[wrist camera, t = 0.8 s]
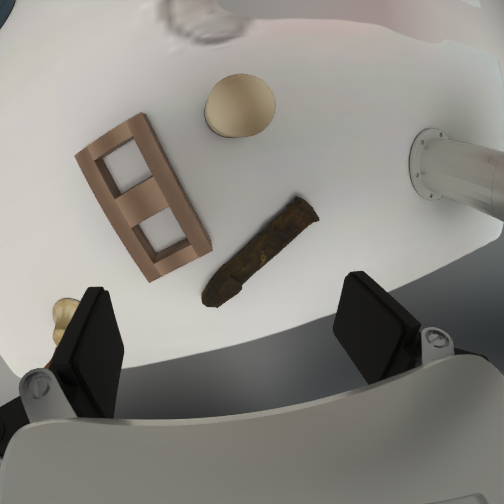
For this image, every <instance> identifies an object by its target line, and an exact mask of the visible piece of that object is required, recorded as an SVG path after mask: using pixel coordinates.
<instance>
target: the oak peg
mask: <svg viewBox="0 0 504 504" xmlns="http://www.w3.org/2000/svg"><path fill="white" fill-rule="evenodd" d="M275 106H276V105H275V98H274V95H273V93H272V91H271V89H270V88H269V86H268V85H267V84H266V83H265V82H263V81H262V80H261V79H259V78H257V77H255V76H252V75H248V74H235V75H231V76H228V77H226V78H224V79H222V80H221V81H220V82H218V83H217V84H216V86H215V87H214V88H213V90H212V91H211V93H210V96H209V99H208V100H207V102H206V105H205V109H204V116H205V120H206V123H207V125H208V126H209V128H210V129H211V130H212V131H213V132H215V133H216V134H218V135H220V136H222V137H227V138H236V137H248V136H252V135H255V134H257V133H259V132H261V131H263V130H264V129H265V128H266V127H267V126H268V125H269V124H270V122H271V121H272V119H273V116H274V114H275Z"/></svg>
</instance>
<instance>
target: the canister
mask: <svg viewBox="0 0 504 504" xmlns="http://www.w3.org/2000/svg"><path fill="white" fill-rule="evenodd" d="M14 2H15V0H0V28H1V26H2V25H3V23H4V22H5V20H6V19H7V17H8V15H9V14H10V12H11V10H12V8H13V5H14Z"/></svg>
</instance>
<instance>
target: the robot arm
mask: <svg viewBox="0 0 504 504" xmlns="http://www.w3.org/2000/svg"><path fill="white" fill-rule="evenodd" d="M410 175H411V179H412V183H413V185H414V187H415V189H416V191H417V192H418V194H420V195H421V196H422V197H424V198H426V199H428V200H437V199H440V198H441V197H443V196H445V197H448V198H451V199H453V200H456V201H458V202H461V203H463V204H465V205H468V206H470V207H472V208H475V209H477V210H479V211H481V212H484V213H486V214H488V215H490V216H492V217H495V218H497V219H499V220H501V221H503V222H504V152H502V151H498V150H494V149H490V148H486V147H482V146H477V145H473V144H468V143H463V142H458V141H452V140H450V139H449V138H448V137H447V135H446V134H445V133H444V132H442V131H440V130H438V129H426V130H424V131H423V132H421V133H420V134H419V135H418V137H417V138H416V140H415V142H414V144H413V147H412V150H411V154H410ZM420 326H421V323H420V322H419V321H417V320H416V319H415V318H414V317H413V316H412V315H411V314H410V313H409V312H408V311H407V310H406V309H405V308H404V307H403V306H401V305H400V304H399V303H398V302H397V301H396V300H395V299H394V298H393V297H392V296H391V295H389V293H387V292H386V291H385V290H384V289H383V288H382V287H381V286H380V285H379V284H377V283H376V282H375V281H374V280H373V279H372V278H371V277H370V276H368V275H367V274H366V273H365V272H364V271H355V272H350V273H349V274H348V276H346V277H345V279H344V284H343V288H342V293H341V297H340V301H339V305H338V309H337V313H336V317H335V321H334V325H333V332H334V335H335V336H336V338H337V339H338V341H339V342H340V344H341V345H342V346H343V348H344V349H345V351H346V352H347V354H348V355H349V357H350V358H351V360H352V361H353V362H354V364H355V365H356V367H357V368H358V370H359V371H360V373H361V374H362V376H363V377H364V379H365V380H366V382H367V383H368V385H367V386H364V387H361V388H358V389H355V390H351V391H348V392H344V393H341V394H337V395H334V396H331V397H326V398H323V399H319V400H315V401H310V402H306V403H302V404H297V405H292V406H287V407H282V408H277V409H272V410H266V411H260V412H253V413H246V414H239V415H230V416H221V417H210V418H197V419H179V420H178V419H176V420H126V419H113V418H114V411H115V403H116V396H117V390H118V384H119V378H120V372H121V367H122V361H123V356H124V345H123V342H122V339H121V335H120V332H119V329H118V325H117V322H116V318H115V314H114V311H113V307H112V303H111V299H110V295H109V292H108V291H107V290H104V288H103V287H88V288H87V290H86V292H85V294H84V296H83V297H82V299H81V301H80V303H79V305H78V307H77V309H76V311H75V313H74V315H73V317H72V319H71V321H70V322H69V324H68V326H67V328H66V330H65V332H64V334H63V336H62V338H61V340H60V343H59V345H58V347H57V349H56V352H55V354H54V356H53V358H52V361H51V363H50V366H49V368H48V369H45V368H36V369H33V370H31V371H29V372H28V373H26V374H25V375H24V376H23V377H22V379H21V381H20V384H19V394H20V396H19V397H17V398H15V399H13V400H12V401H10V402H8V403H6V404H5V405H3V406H1V407H0V504H504V373H503V372H501V371H499V370H497V369H496V368H495V367H494V366H493V365H492V364H491V363H490V362H489V360H488V359H487V358H486V357H485V356H483V355H479V354H476V353H471V352H468V351H465V350H461V349H457V348H454V347H453V342H452V340H451V338H450V336H449V335H448V334H447V333H446V332H444V331H442V330H440V329H438V328H432V327H430V328H426V329H424V330H423V331H422V333H420V332H419V329H420Z"/></svg>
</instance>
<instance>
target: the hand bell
mask: <svg viewBox="0 0 504 504" xmlns="http://www.w3.org/2000/svg"><path fill="white" fill-rule="evenodd" d="M79 303H80V302H79V301H77V300H73V299H62V300H59V301H58V302H57V303H56V304H55V305H54V308H53V318H54V321H55V323H56V325H55V329H54V332H53V340H54V342H55V344H56V345H57V347H58V345H59V343H60V340H61V338H62V336H63V334H64V332H65V330H66V328H67V326H68V324H69V322H70V321H71V319H72V317H73V315H74V313H75V311H76V309H77V307H78V305H79ZM57 347H56V349H57ZM56 349H55V352H56ZM55 352H54V354H55ZM54 354H53V356H54ZM52 358H53V357H52ZM51 361H52V359H51V360H50V362H49V363H48V364H47V365H46V366H45V367H44V368H45V369H48V368H49V366H50V363H51Z"/></svg>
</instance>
